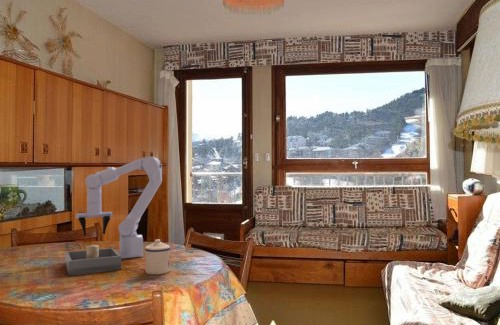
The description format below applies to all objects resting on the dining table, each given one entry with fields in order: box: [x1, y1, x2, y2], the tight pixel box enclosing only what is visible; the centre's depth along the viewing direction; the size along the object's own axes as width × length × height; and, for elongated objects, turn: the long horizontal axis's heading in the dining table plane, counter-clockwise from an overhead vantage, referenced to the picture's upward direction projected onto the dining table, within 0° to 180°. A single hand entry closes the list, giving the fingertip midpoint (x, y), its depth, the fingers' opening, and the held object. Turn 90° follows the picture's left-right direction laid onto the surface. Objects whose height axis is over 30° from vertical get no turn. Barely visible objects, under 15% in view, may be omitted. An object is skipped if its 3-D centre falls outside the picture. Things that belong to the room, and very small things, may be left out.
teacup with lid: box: [144, 238, 171, 275], centre depth 154 cm, size 12×9×12 cm
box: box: [64, 247, 122, 276], centre depth 160 cm, size 18×18×5 cm
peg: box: [85, 244, 100, 259], centre depth 160 cm, size 4×4×8 cm
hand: (94, 234), depth 178 cm, fingers open, 7 cm apart
